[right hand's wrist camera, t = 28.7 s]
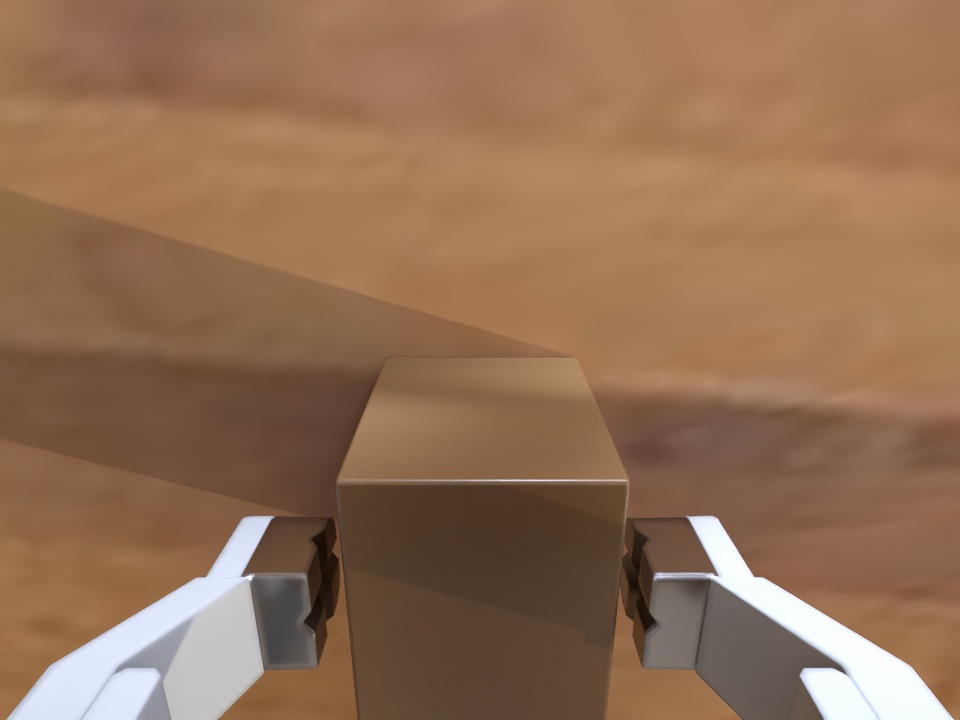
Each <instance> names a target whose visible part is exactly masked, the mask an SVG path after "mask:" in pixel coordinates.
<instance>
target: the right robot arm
mask: <svg viewBox="0 0 960 720" xmlns="http://www.w3.org/2000/svg"><path fill="white" fill-rule="evenodd" d="M336 538H337V537H336V529H335V522H334V520H333V519H332V517H288V516H276V517H273V516H247V517H245V518H243V519H242V520H241V521H240V523H239V524H238V526H237V527H236V529H235V531H234V532H233V534H232V536H231V537H230V539H229V540H228V542H227V544H226V545H225V547H224V548H223V550H222V552H221V553H220V555H219V557H218V558H217V560H216V561H215V563H214V565H213V566H212V568H211V569H210V571H209V573H208V574H207V576H206V577H202V578H195V579H193V580H192V581H190V582H188V583H187V584H185V585H183V586H182V587H180V588H178V589H177V590H175V591H173V592H172V593H170V594H168V595H167V596H165V597H163V598H162V599H160V600H158V601H157V602H155V603H153V604H152V605H150V606H148V607H147V608H145V609H143V610H142V611H140V612H138V613H137V614H135V615H133V616H132V617H130V618H128V619H127V620H125V621H123V622H122V623H120V624H118V625H117V626H115V627H113V628H112V629H110V630H108V631H107V632H105V633H103V634H102V635H100V636H98V637H97V638H95V639H93V640H92V641H90V642H88V643H87V644H85V645H83V646H82V647H80V648H78V649H77V650H75V651H73V652H72V653H70V654H68V655H67V656H65V657H63V658H62V659H60V660H58V661H57V662H55V663H53V664H52V665H50V666H49V668H48V669H47V670H46V671H45V673H44V674H43V675H42V676H41V677H40V679H39V680H38V681H37V682H36V684H35V685H34V686H33V687H32V689H31V690H30V691H29V692H28V694H27V695H26V696H25V697H24V699H23V700H22V701H21V702H20V703H19V705H18V706H17V707H16V708H15V710H14V711H13V712H12V713H11V715H10V716H9V717H8V718H7V720H218V719H219V718H220V717H221V716H222V715H223V714H224V713H225V712H226V711H227V710H228V709H229V708H230V707H231V706H232V705H233V704H234V703H235V702H236V701H237V700H238V699H239V698H240V697H241V696H242V695H243V694H244V693H245V692H246V691H247V690H248V689H249V688H250V687H251V686H252V685H253V684H254V683H255V682H256V681H257V680H258V679H259V678H260V677H261V676H262V675H263V674H264V670H280V669H315V668H318V665H319V662H320V658H321V655H322V652H323V649H324V645H325V642H326V639H327V627H326V621H327V620H329V619H330V618H331V617H332V616H333V615H334V612H335V609H336V605H337V601H338V594H339V586H340V567H339V559H338V558H337V557H336V556H335V555H334V554H333V553H332V550H333V547H334V544H335V541H336ZM624 542H625V545H626V548H627V550H628V552H627V554H626V555H625V556H624V557H623V558H622V567H621V577H620V586H621V596H622V601H623V606H624V609H625V613H626V615H627V616H628V617H629V618H630V619H631V620H633V621H634V626H633V639H634V642H635V646H636V649H637V652H638V655H639V658H640V662H641V665H642V668H644V669H679V670H696V672H695V673H696V674H697V675H698V676H699V677H700V678H701V679H702V680H703V681H704V682H705V683H706V684H707V685H709V686H710V687H711V688H712V689H713V690H714V691H715V692H716V693H717V694H718V695H719V696H720V697H721V698H722V699H723V700H724V701H725V702H726V703H727V704H728V705H729V706H730V707H731V708H732V709H733V710H734V711H735V712H736V713H737V714H738V715H739V716H740V717H741V718H742V719H743V720H953V718H952V717H951V716H950V715H949V713H948V712H947V711H946V710H945V708H944V707H943V706H942V705H941V703H940V702H939V701H938V700H937V698H936V697H935V696H934V695H933V693H932V692H931V691H930V690H929V688H928V687H927V686H926V685H925V683H924V682H923V681H922V680H921V678H920V677H919V676H918V675H917V673H916V672H915V671H914V670H913V669H912V667H911V666H909V665H908V664H906V663H904V662H903V661H901V660H899V659H898V658H896V657H894V656H893V655H891V654H889V653H888V652H886V651H884V650H883V649H881V648H879V647H878V646H876V645H874V644H873V643H871V642H869V641H868V640H866V639H864V638H863V637H861V636H859V635H858V634H856V633H854V632H853V631H851V630H849V629H848V628H846V627H845V626H843V625H841V624H840V623H838V622H836V621H835V620H833V619H831V618H830V617H828V616H826V615H825V614H823V613H821V612H820V611H818V610H816V609H815V608H813V607H811V606H810V605H808V604H806V603H805V602H803V601H801V600H800V599H798V598H796V597H795V596H793V595H791V594H790V593H788V592H786V591H785V590H783V589H781V588H780V587H778V586H776V585H775V584H773V583H771V582H770V581H768V580H766V579H765V578H758V577H754V576H753V575H752V573H751V571H750V570H749V568H748V567H747V565H746V563H745V562H744V560H743V559H742V557H741V555H740V554H739V552H738V551H737V549H736V547H735V546H734V544H733V543H732V541H731V539H730V538H729V536H728V535H727V533H726V531H725V530H724V528H723V527H722V525H721V523H720V522H719V520H718V519H717V518H716V517H714V516H690V517H675V518H627V520H626V529H625V538H624Z"/></svg>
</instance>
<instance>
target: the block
mask: <svg viewBox="0 0 960 720" xmlns="http://www.w3.org/2000/svg"><path fill="white" fill-rule="evenodd" d="M335 487H336V497H337V508H338V518H339V529H340V539H341V550H342V560H343V571H344V581H345V592H346V602H347V613H348V623H349V634H350V644H351V655H352V665H353V676H354V686H355V697H356V707H357V718H358V720H606V712H607V703H608V693H609V683H610V674H611V664H612V654H613V645H614V635H615V625H616V616H617V606H618V596H619V587H620V577H621V567H622V558H623V548H624V538H625V529H626V519H627V509H628V500H629V490H630V481H629V478H628V476H627V474H626V471H625V469H624V467H623V464H622V462H621V460H620V457H619V455H618V453H617V450H616V448H615V446H614V443H613V441H612V439H611V436H610V434H609V432H608V429H607V427H606V425H605V422H604V420H603V418H602V415H601V413H600V411H599V408H598V406H597V404H596V401H595V399H594V397H593V394H592V392H591V390H590V387H589V385H588V383H587V380H586V378H585V376H584V373H583V371H582V369H581V366H580V364H579V362H578V359H577V358H470V357H388V358H385V361H384V363H383V366H382V368H381V371H380V373H379V376H378V378H377V381H376V383H375V385H374V388H373V390H372V393H371V395H370V398H369V400H368V403H367V405H366V408H365V410H364V413H363V415H362V418H361V420H360V422H359V425H358V427H357V430H356V432H355V435H354V437H353V440H352V442H351V445H350V447H349V450H348V452H347V454H346V457H345V459H344V462H343V464H342V467H341V469H340V472H339V474H338V477H337V479H336V482H335Z"/></svg>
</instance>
